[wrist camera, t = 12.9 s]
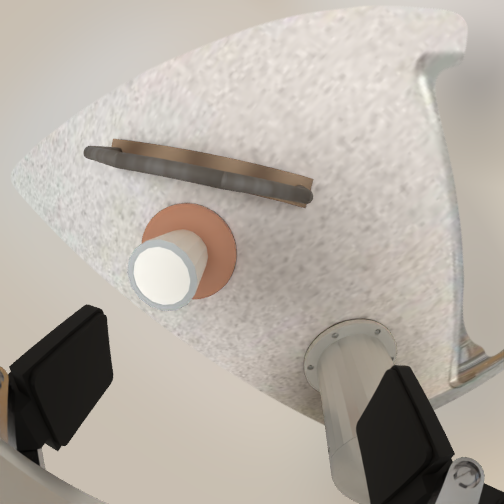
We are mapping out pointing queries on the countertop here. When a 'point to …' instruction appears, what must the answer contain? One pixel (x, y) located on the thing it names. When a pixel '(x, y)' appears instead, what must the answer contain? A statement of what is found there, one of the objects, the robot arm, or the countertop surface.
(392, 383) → the robot arm
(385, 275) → the countertop surface
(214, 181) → the arched handle
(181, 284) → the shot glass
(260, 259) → the countertop surface
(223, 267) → the coaster
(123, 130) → the countertop surface
